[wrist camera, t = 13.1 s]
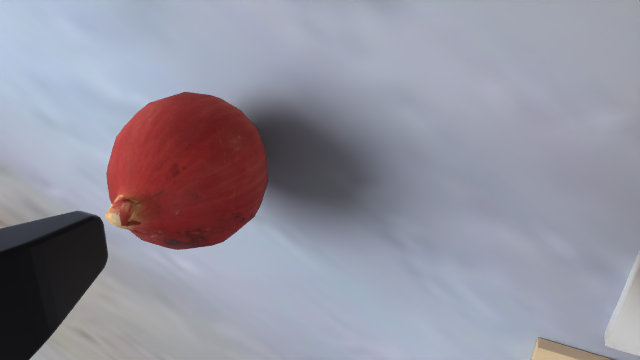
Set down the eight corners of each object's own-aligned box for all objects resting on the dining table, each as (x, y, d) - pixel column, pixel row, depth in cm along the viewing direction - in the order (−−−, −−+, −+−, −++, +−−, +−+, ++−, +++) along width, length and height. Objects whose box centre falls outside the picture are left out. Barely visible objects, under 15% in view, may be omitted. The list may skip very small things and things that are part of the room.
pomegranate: (318, 184, 23) (222, 295, 16) (214, 204, 26) (96, 306, 19) (269, 55, 21) (139, 119, 15) (163, 91, 24) (13, 159, 17)
